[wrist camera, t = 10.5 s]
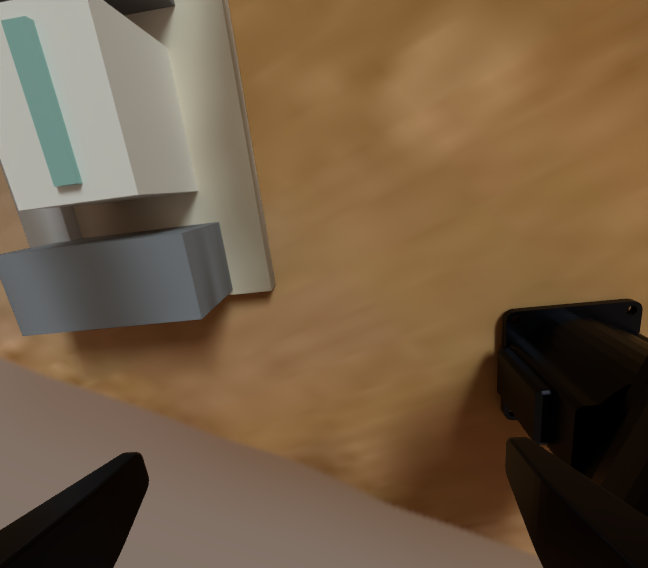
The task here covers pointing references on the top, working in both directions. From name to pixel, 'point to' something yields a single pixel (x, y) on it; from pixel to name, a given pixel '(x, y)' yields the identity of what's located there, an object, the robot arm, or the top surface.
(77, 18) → the module block
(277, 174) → the top surface
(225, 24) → the rail board
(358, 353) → the top surface
